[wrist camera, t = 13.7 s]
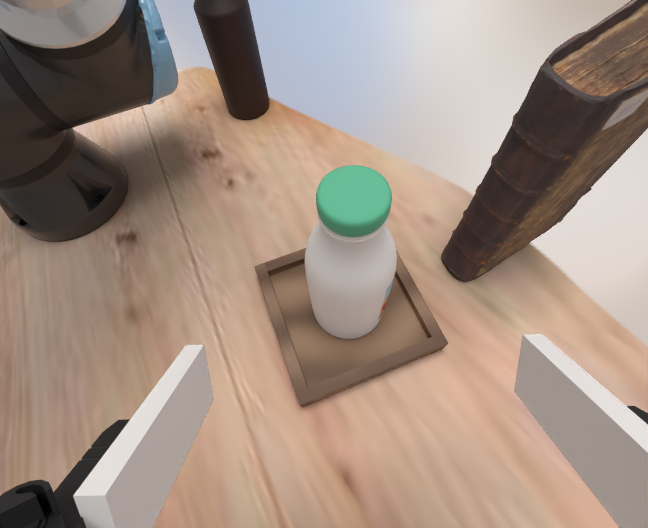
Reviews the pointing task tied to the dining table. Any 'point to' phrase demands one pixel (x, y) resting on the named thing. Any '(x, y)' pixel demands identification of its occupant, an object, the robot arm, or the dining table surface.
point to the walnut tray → (336, 353)
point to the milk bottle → (351, 252)
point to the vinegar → (234, 55)
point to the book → (559, 141)
